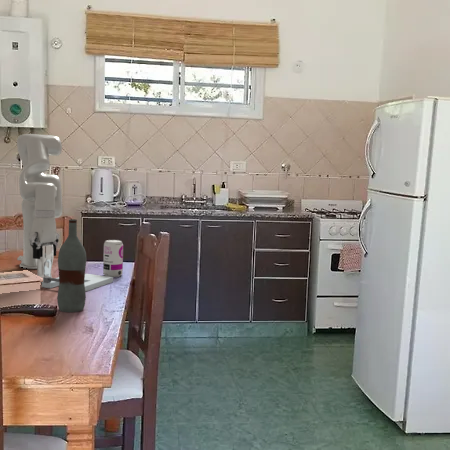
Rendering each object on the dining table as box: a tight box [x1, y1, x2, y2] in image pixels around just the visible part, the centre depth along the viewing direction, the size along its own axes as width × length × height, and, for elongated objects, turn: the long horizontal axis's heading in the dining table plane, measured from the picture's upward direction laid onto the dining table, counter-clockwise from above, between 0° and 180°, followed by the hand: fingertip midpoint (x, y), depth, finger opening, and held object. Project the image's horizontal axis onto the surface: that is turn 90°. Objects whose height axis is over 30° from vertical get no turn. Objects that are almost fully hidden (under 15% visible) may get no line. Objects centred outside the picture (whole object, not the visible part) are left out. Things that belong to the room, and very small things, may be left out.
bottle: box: [56, 218, 87, 313], centre depth 184 cm, size 9×9×30 cm
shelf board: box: [41, 272, 114, 293], centre depth 220 cm, size 18×22×4 cm
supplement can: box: [102, 239, 124, 278], centre depth 240 cm, size 8×8×15 cm
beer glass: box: [36, 243, 55, 278], centre depth 223 cm, size 7×7×15 cm
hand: (44, 257), depth 222 cm, fingers open, 9 cm apart
